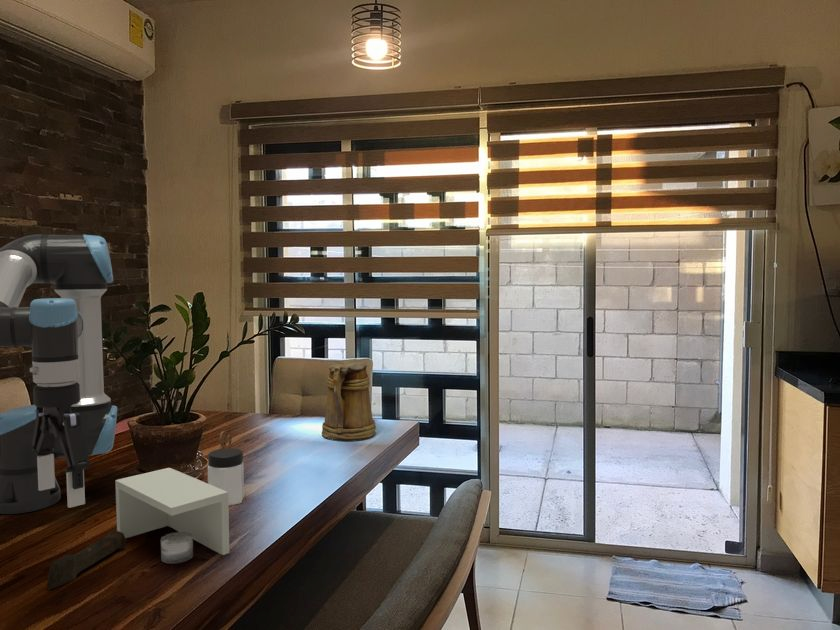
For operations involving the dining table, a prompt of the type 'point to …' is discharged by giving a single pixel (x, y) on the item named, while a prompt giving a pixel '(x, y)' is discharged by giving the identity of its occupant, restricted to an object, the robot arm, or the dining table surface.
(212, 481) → the jar
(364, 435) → the tankard
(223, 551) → the low shelf
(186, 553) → the steel puck
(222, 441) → the gingerbread man figurine
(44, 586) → the dining table surface
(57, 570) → the hand tool
